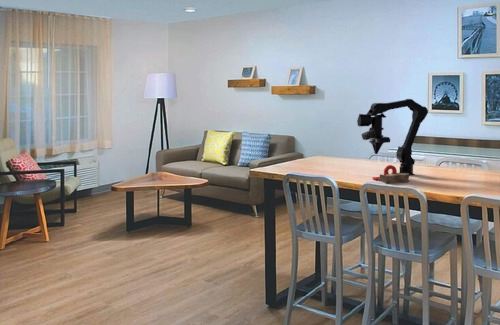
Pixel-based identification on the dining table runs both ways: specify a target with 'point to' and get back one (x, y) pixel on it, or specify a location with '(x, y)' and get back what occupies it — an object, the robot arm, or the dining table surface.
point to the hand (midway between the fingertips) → (376, 153)
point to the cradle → (395, 178)
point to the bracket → (387, 171)
